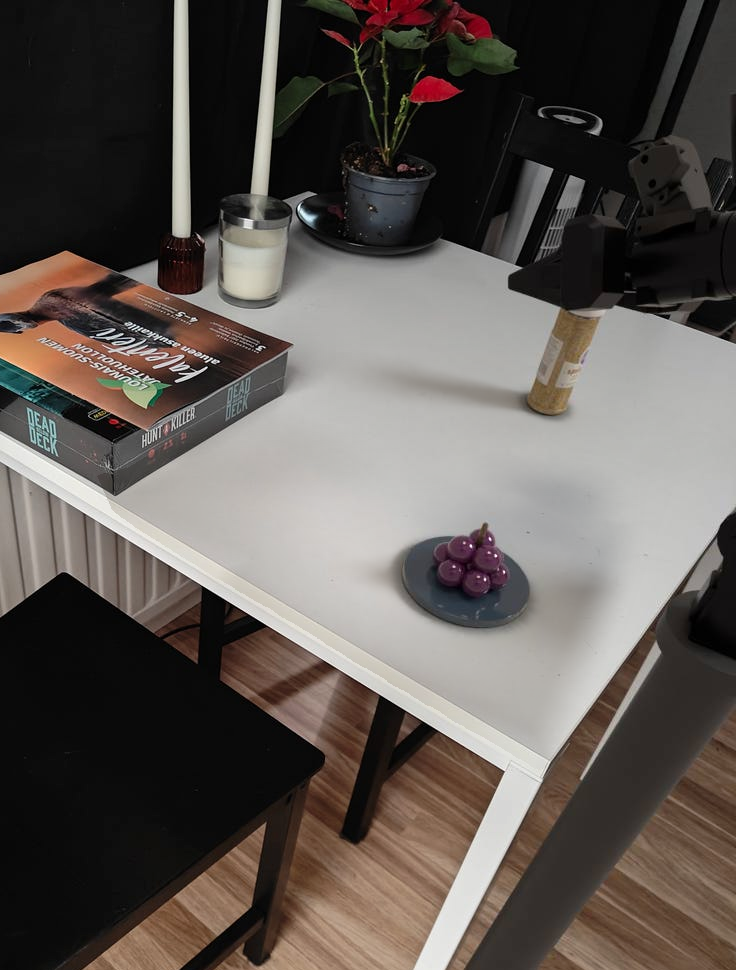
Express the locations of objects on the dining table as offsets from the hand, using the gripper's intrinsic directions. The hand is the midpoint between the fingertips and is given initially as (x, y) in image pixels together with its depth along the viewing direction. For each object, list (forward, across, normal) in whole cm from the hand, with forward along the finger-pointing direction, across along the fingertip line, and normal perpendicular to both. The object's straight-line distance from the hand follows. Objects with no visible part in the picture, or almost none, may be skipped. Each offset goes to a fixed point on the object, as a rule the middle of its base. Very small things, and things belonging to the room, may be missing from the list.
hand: (539, 284), depth 75 cm
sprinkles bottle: (+12, -23, +11) cm, 28 cm away
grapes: (+2, +8, +24) cm, 26 cm away
